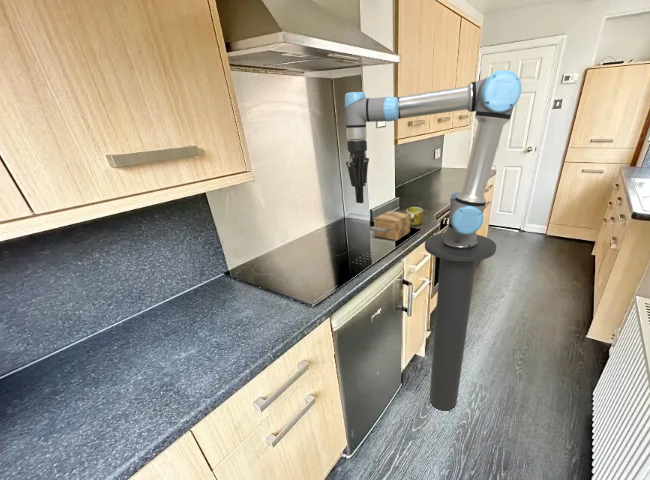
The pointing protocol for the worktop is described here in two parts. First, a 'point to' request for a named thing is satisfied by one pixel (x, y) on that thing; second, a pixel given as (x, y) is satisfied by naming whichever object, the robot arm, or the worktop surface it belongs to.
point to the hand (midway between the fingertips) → (359, 202)
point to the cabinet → (397, 222)
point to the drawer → (384, 229)
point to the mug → (415, 215)
